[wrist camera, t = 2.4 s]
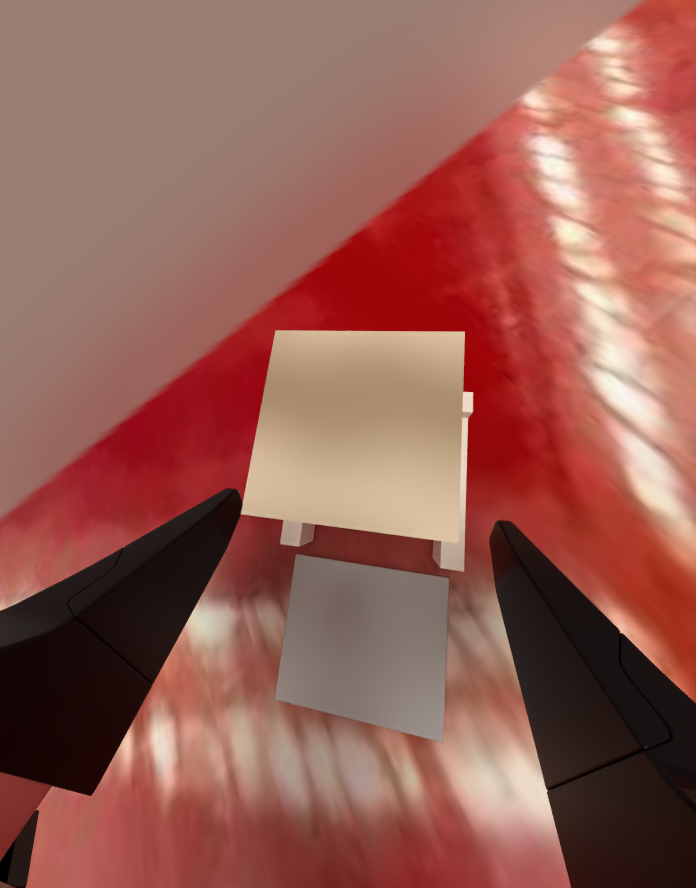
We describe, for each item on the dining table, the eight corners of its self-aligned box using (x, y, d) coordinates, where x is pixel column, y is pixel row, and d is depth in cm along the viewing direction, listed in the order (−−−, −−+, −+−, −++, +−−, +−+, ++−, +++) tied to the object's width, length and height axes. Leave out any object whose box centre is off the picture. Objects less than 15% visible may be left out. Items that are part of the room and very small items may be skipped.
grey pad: (442, 738, 16) (443, 742, 15) (276, 696, 17) (274, 699, 17) (448, 577, 17) (448, 578, 17) (297, 553, 19) (295, 554, 19)
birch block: (414, 519, 18) (458, 543, 6) (334, 509, 19) (240, 513, 7) (419, 440, 20) (464, 331, 7) (343, 434, 20) (275, 330, 8)
